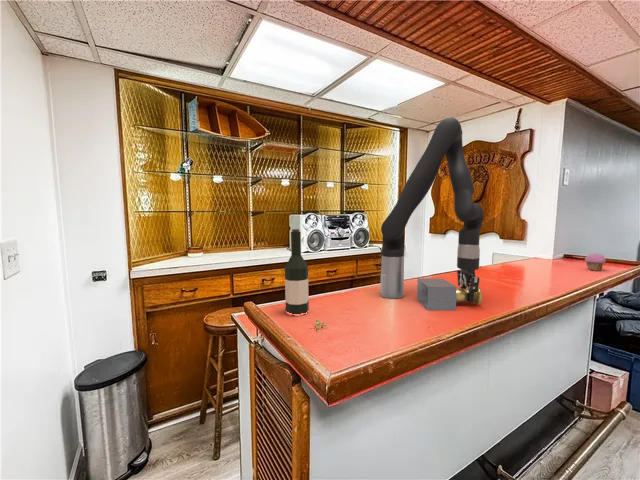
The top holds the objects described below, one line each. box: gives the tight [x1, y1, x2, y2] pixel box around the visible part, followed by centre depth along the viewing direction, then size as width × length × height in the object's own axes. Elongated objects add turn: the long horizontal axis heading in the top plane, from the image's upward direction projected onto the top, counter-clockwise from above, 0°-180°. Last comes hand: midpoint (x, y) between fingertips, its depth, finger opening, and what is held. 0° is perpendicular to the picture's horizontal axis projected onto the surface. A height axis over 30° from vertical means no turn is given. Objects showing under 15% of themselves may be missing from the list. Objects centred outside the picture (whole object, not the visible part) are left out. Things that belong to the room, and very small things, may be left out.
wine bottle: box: [284, 228, 310, 314], centre depth 105 cm, size 8×8×30 cm
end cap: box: [456, 286, 483, 305], centre depth 113 cm, size 13×6×6 cm, turn 87°
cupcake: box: [584, 253, 607, 272], centre depth 173 cm, size 9×9×10 cm
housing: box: [416, 277, 458, 311], centre depth 114 cm, size 10×14×9 cm
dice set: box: [315, 319, 327, 331], centre depth 92 cm, size 5×5×2 cm
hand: (466, 300), depth 113 cm, fingers closed on end cap, 5 cm apart
